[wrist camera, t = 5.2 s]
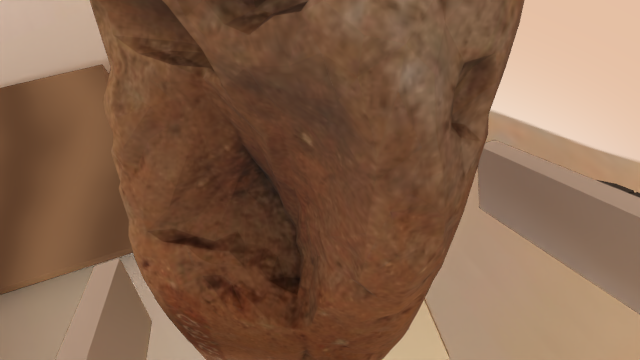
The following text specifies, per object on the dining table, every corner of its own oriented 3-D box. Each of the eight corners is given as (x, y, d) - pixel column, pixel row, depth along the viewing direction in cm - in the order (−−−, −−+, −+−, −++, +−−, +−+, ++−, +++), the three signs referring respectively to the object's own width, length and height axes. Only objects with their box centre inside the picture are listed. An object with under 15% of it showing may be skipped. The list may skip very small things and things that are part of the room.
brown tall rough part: (288, 204, 25) (230, -279, 9) (405, 236, 24) (584, -267, 8) (209, 386, 19) (-436, -129, 3) (362, 443, 17) (843, 81, 1)
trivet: (-108, 328, 21) (-126, 328, 20) (-103, 123, 25) (-118, 115, 24) (143, 249, 23) (137, 245, 22) (108, 73, 27) (102, 64, 26)
